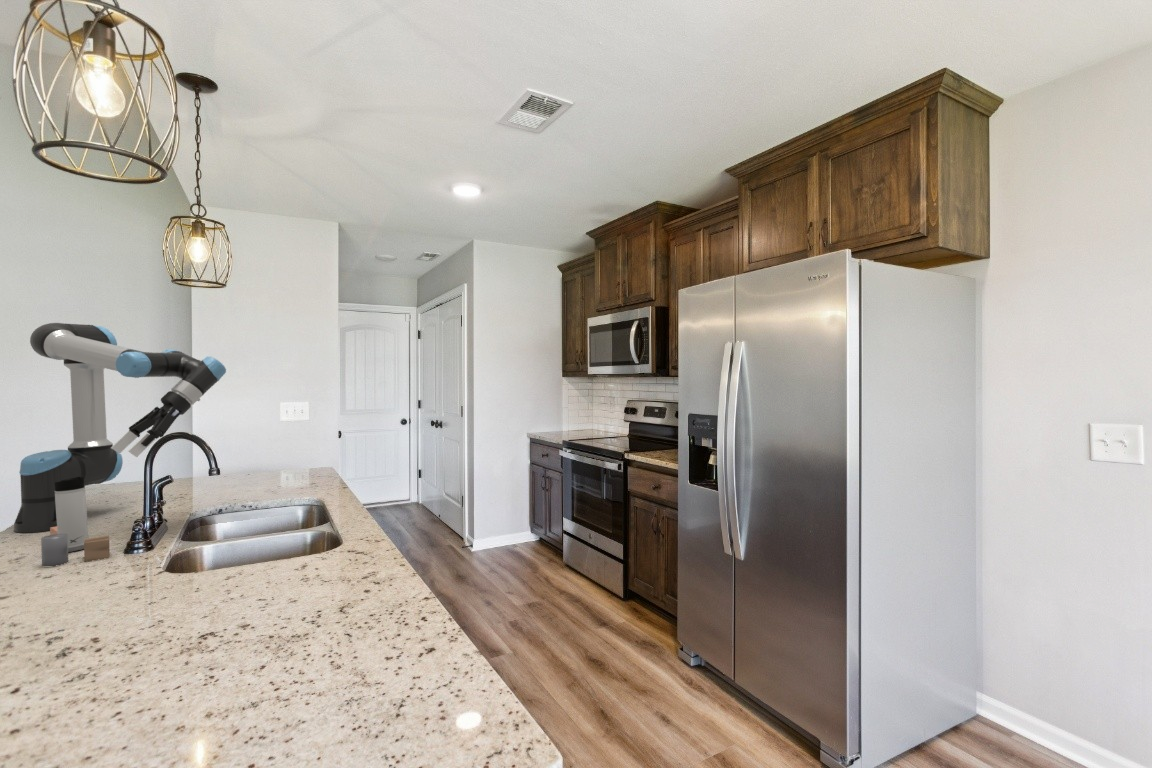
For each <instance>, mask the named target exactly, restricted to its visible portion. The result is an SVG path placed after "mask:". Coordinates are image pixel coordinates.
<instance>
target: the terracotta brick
mask: <svg viewBox="0 0 1152 768" xmlns="http://www.w3.org/2000/svg"><path fill="white" fill-rule="evenodd" d="M49 531H50V533H49V535H55V534H58V532H57V526H56V527H50V530H49Z"/></svg>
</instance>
